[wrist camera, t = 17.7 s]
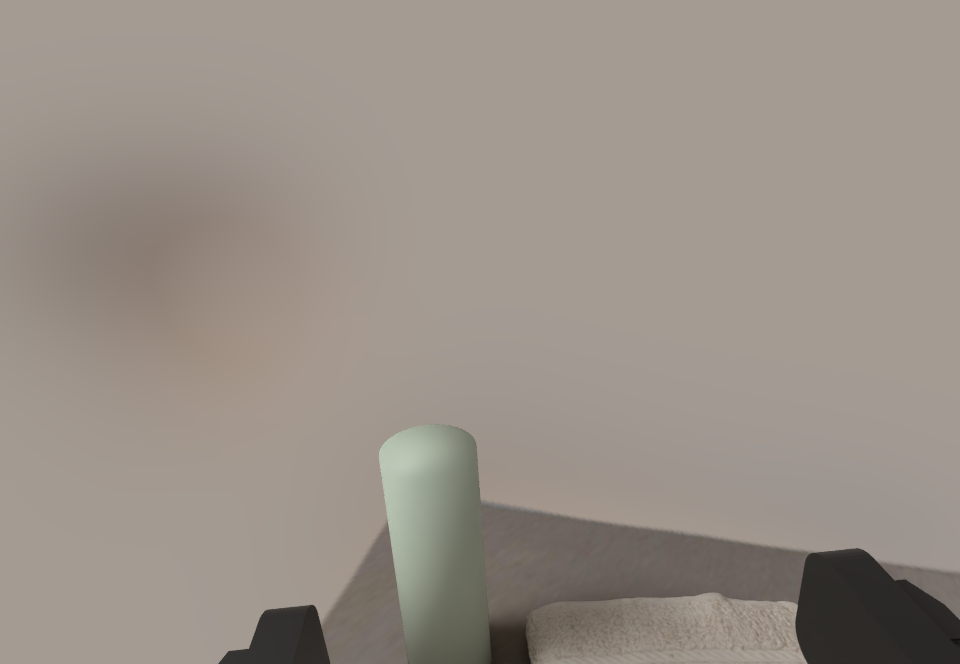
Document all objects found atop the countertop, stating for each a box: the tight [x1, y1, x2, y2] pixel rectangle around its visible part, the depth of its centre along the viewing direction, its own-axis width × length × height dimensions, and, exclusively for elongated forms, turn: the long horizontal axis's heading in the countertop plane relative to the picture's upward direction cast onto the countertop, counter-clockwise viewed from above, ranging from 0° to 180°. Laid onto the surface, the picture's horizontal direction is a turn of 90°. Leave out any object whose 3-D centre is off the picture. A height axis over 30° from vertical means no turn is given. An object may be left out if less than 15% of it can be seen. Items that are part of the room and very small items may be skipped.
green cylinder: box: [379, 424, 492, 664], centre depth 32 cm, size 5×5×15 cm
